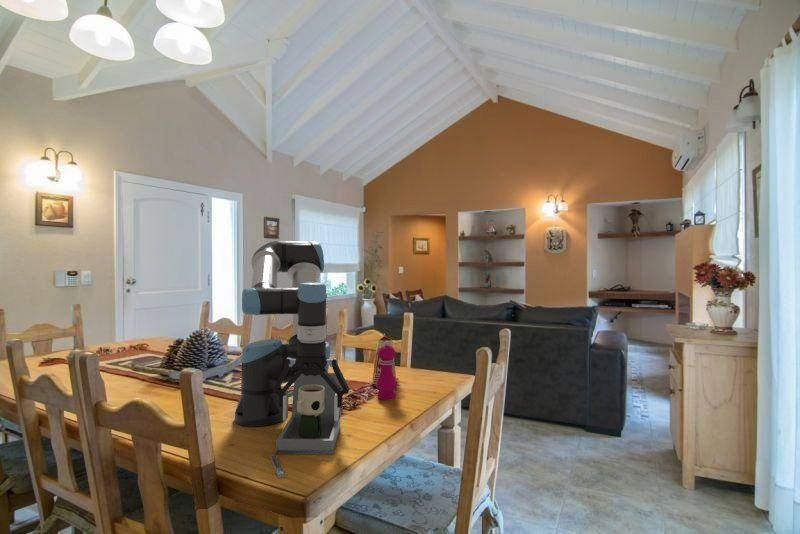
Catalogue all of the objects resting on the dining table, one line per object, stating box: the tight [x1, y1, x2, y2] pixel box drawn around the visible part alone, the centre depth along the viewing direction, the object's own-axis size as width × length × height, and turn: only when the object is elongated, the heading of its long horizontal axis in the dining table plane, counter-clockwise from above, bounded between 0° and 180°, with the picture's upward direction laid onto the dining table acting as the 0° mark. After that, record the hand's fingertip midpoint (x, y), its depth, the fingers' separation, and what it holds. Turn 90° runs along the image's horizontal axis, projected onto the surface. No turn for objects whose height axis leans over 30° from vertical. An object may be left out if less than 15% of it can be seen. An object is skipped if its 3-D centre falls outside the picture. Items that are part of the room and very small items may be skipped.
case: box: [275, 372, 344, 455], centre depth 120 cm, size 14×22×15 cm, turn 1°
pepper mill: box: [375, 341, 397, 401], centre depth 154 cm, size 7×7×20 cm
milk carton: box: [371, 332, 397, 385], centre depth 173 cm, size 9×9×20 cm
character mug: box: [297, 385, 325, 439], centre depth 117 cm, size 11×7×13 cm, turn 152°
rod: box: [270, 454, 285, 479], centre depth 102 cm, size 10×1×1 cm, turn 26°
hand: (310, 419), depth 118 cm, fingers open, 13 cm apart
